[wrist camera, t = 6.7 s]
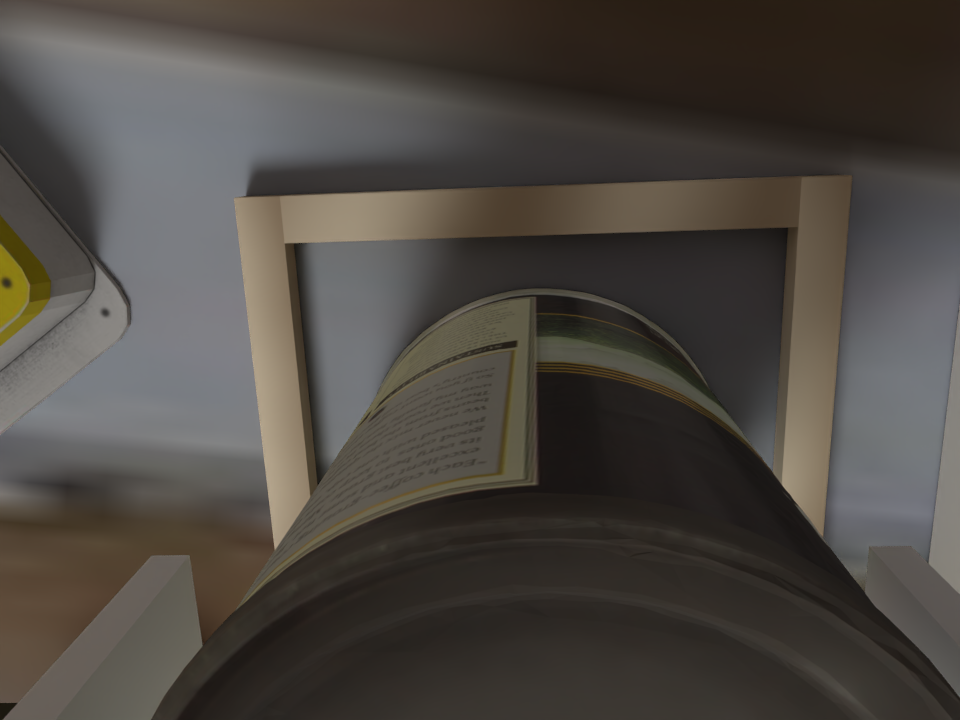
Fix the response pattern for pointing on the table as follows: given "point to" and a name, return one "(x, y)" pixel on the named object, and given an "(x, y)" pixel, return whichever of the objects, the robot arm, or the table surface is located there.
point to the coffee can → (553, 552)
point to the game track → (552, 211)
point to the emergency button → (47, 299)
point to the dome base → (949, 486)
